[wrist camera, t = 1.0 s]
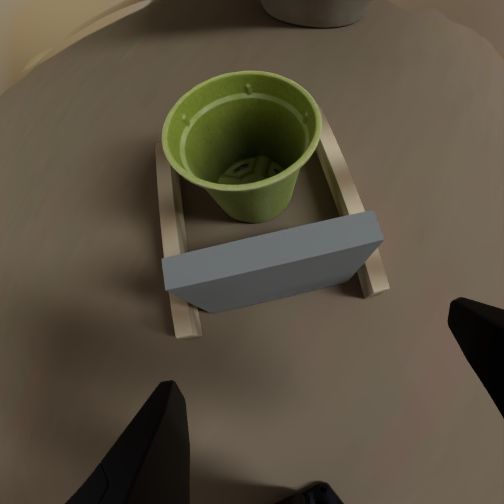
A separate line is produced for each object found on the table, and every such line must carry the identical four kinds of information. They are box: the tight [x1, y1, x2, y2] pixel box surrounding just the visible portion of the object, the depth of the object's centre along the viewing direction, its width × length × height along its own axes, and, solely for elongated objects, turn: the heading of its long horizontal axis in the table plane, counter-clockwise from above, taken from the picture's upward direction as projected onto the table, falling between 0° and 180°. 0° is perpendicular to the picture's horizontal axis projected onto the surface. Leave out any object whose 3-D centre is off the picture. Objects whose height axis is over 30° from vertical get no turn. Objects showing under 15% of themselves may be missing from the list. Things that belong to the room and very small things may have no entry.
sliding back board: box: [161, 210, 384, 313], centre depth 18 cm, size 4×10×9 cm, turn 102°
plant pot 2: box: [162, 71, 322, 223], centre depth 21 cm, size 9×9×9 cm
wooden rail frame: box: [155, 106, 390, 339], centre depth 23 cm, size 16×14×2 cm
